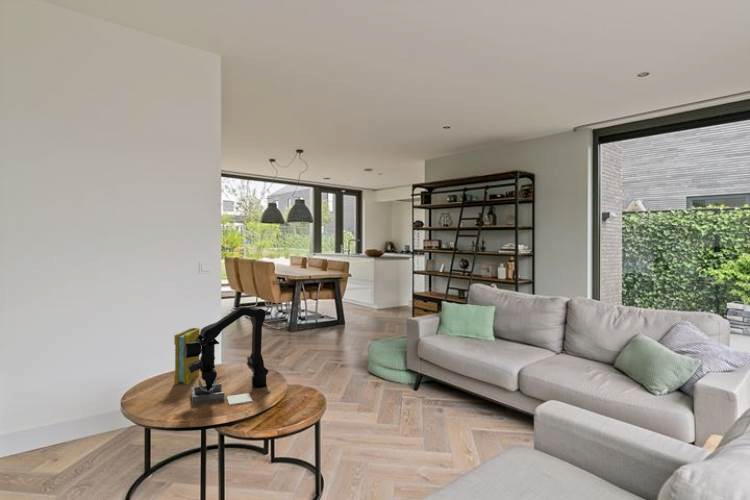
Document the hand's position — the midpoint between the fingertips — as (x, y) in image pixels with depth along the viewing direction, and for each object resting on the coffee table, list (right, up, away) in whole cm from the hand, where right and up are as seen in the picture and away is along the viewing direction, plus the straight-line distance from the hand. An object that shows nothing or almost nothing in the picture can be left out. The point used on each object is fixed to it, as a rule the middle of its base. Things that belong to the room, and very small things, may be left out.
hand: (207, 387), depth 191 cm
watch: (0, -5, 0) cm, 5 cm away
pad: (+16, -5, -2) cm, 16 cm away
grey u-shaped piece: (0, -5, 0) cm, 5 cm away
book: (-20, -4, +25) cm, 32 cm away
